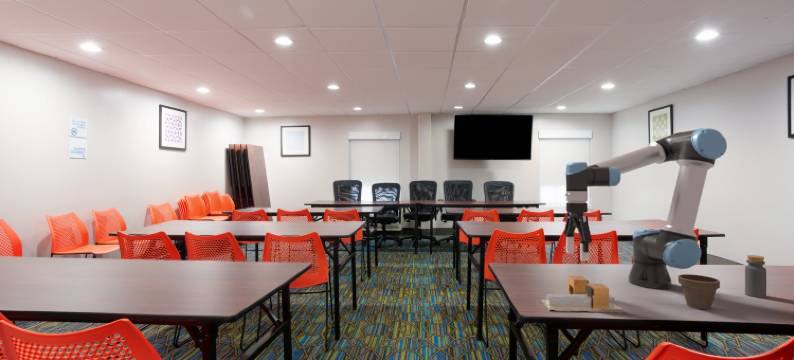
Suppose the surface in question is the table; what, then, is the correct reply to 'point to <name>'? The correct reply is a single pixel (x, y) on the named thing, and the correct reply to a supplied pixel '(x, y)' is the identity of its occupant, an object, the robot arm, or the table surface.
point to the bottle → (755, 277)
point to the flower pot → (699, 290)
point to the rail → (583, 300)
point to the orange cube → (577, 284)
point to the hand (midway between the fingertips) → (577, 256)
